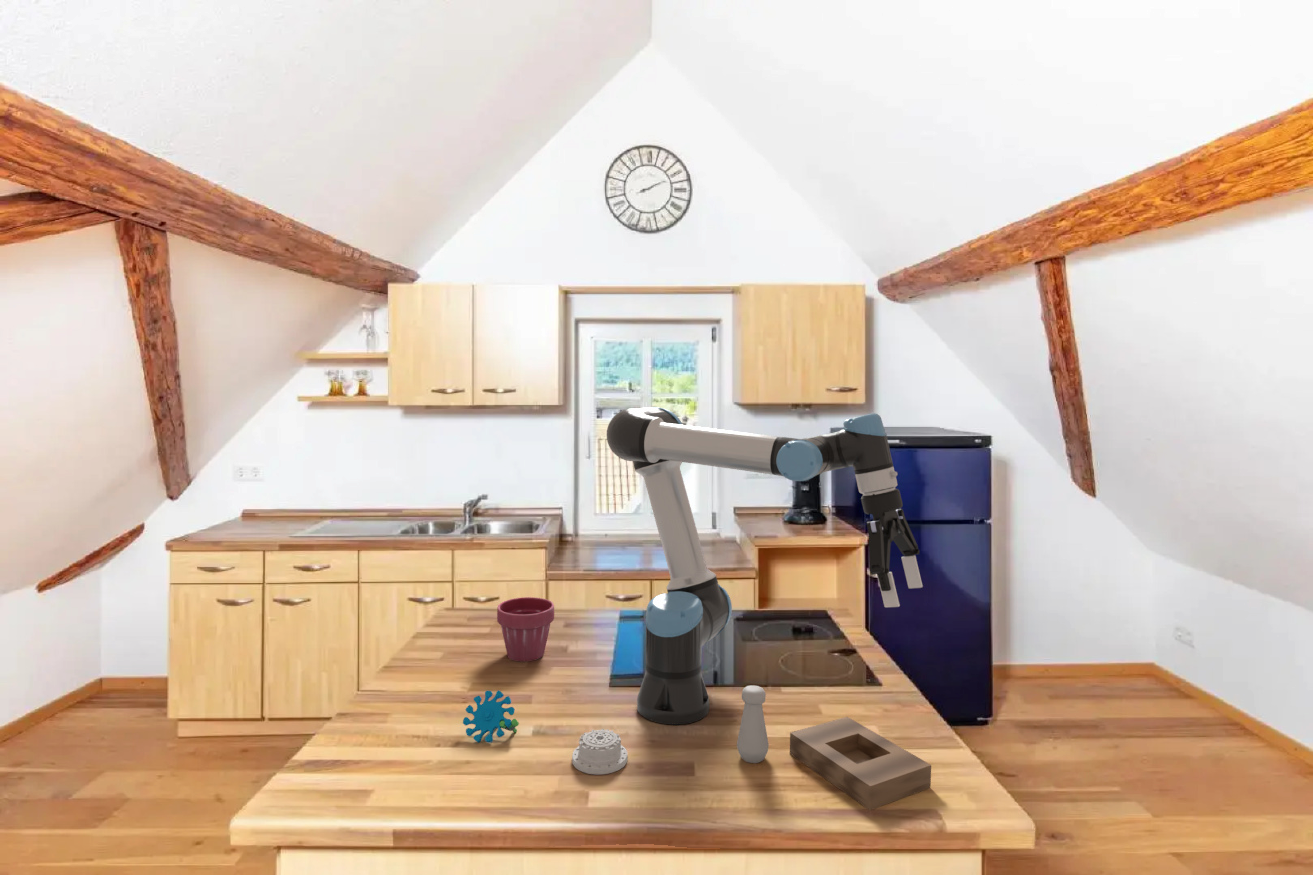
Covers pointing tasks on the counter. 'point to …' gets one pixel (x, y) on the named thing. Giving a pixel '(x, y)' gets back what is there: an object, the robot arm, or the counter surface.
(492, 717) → the coronavirus model
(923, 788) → the stand
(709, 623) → the robot arm
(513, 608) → the plant pot
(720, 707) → the counter surface
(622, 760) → the mechanical component
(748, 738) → the salt shaker
